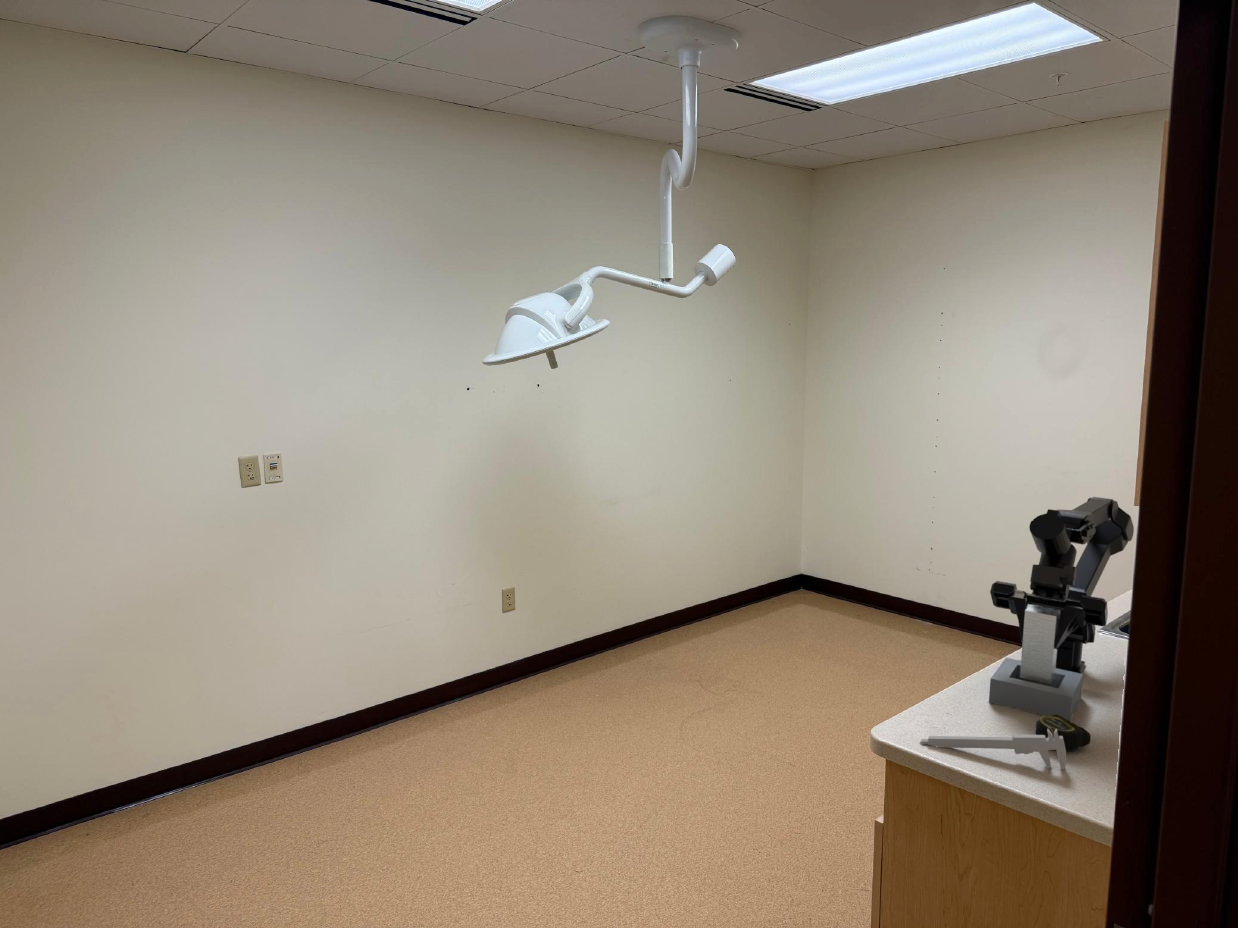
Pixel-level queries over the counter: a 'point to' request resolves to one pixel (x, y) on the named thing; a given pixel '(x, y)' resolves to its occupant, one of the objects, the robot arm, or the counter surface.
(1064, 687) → the block
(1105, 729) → the counter surface
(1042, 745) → the caliper
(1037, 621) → the light gray rectangular block
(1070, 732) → the tape measure
